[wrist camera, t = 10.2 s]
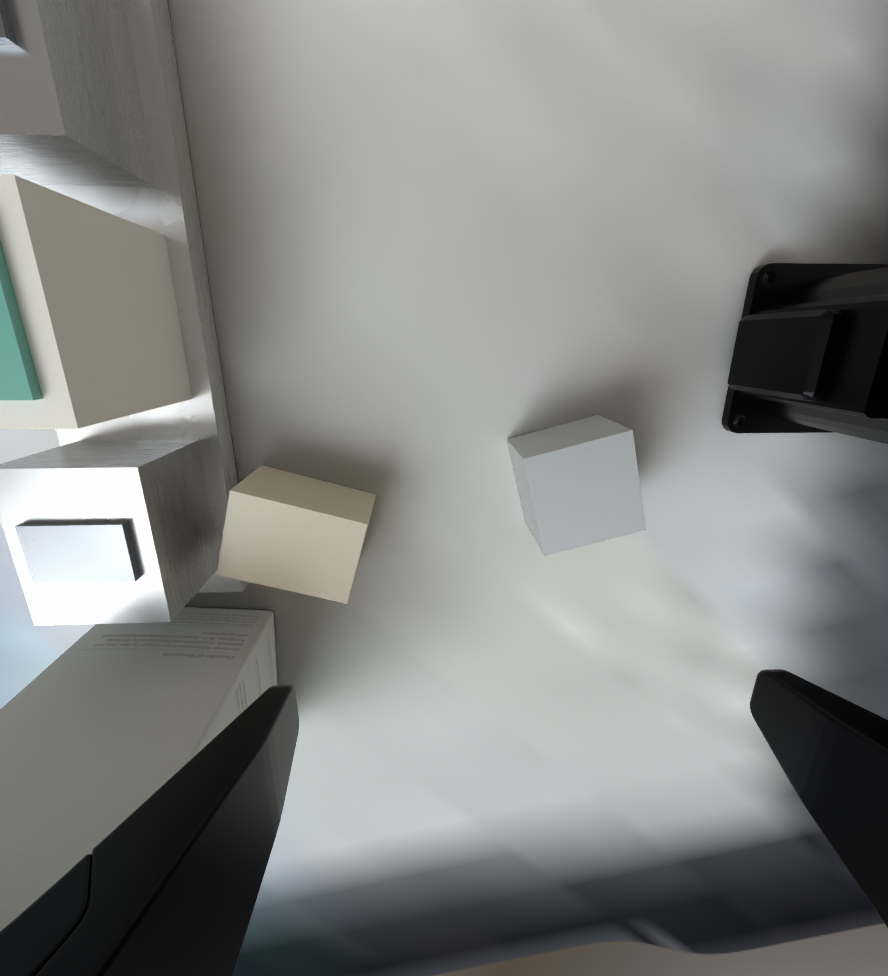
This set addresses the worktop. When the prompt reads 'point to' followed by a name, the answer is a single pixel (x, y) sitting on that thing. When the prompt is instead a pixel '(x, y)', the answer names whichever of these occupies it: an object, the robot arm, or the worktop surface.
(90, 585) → the rail
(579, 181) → the worktop surface
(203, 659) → the supplement box
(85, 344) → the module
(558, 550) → the block
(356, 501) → the beige block
